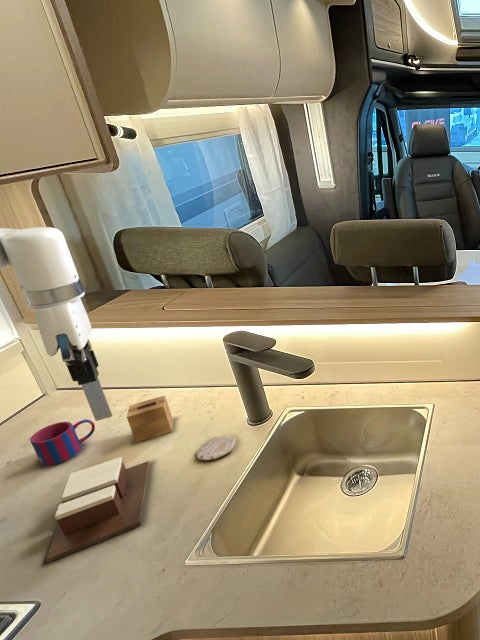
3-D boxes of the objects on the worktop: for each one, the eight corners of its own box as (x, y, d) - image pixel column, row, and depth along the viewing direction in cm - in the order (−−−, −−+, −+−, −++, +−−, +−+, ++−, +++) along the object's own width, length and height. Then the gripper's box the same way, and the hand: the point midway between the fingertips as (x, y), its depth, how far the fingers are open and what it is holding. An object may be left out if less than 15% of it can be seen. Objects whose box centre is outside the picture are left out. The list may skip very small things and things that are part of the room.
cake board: (47, 563, 75) (45, 559, 75) (72, 491, 89) (70, 487, 89) (140, 525, 82) (139, 521, 82) (150, 464, 96) (149, 460, 96)
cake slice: (63, 535, 79) (54, 516, 77) (67, 523, 81) (58, 504, 80) (119, 513, 83) (111, 495, 82) (121, 502, 86) (114, 484, 84)
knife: (94, 425, 86) (66, 355, 81) (97, 416, 89) (70, 348, 83) (111, 420, 88) (85, 351, 82) (113, 412, 90) (88, 344, 84)
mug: (40, 455, 98) (29, 432, 95) (98, 432, 105) (89, 410, 102) (41, 471, 94) (30, 447, 91) (101, 446, 101) (92, 423, 98)
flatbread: (189, 460, 97) (188, 457, 97) (213, 436, 104) (212, 433, 104) (222, 462, 97) (221, 459, 96) (244, 438, 104) (243, 435, 103)
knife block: (136, 443, 102) (126, 417, 99) (138, 430, 106) (129, 405, 103) (171, 431, 106) (163, 406, 103) (173, 419, 109) (165, 395, 107)
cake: (69, 516, 83) (61, 498, 81) (78, 491, 88) (70, 473, 86) (123, 496, 87) (115, 479, 85) (127, 473, 92) (121, 456, 91)
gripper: (38, 282, 82) (70, 360, 88) (10, 314, 70) (49, 403, 76) (90, 274, 86) (116, 349, 93) (72, 303, 74) (104, 388, 80)
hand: (86, 373), depth 84 cm, fingers closed on knife, 3 cm apart
